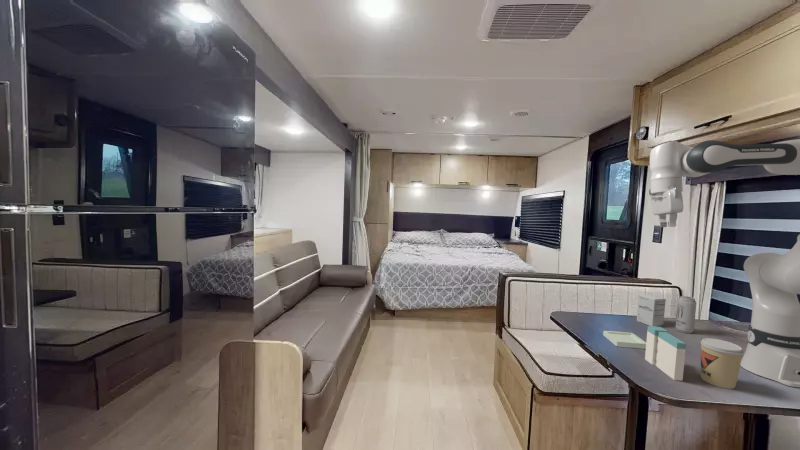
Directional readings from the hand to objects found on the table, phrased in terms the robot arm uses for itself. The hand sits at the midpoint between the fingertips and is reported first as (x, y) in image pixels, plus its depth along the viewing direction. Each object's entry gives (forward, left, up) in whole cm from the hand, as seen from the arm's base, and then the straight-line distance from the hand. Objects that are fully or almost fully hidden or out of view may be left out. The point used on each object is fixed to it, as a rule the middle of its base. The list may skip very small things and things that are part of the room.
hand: (667, 227), depth 116 cm
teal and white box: (+1, +15, -46) cm, 49 cm away
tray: (+8, -8, -46) cm, 48 cm away
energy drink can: (-20, -33, -47) cm, 61 cm away
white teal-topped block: (+3, +8, -46) cm, 47 cm away
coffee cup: (-11, +15, -47) cm, 50 cm away
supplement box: (-9, -38, -47) cm, 61 cm away
